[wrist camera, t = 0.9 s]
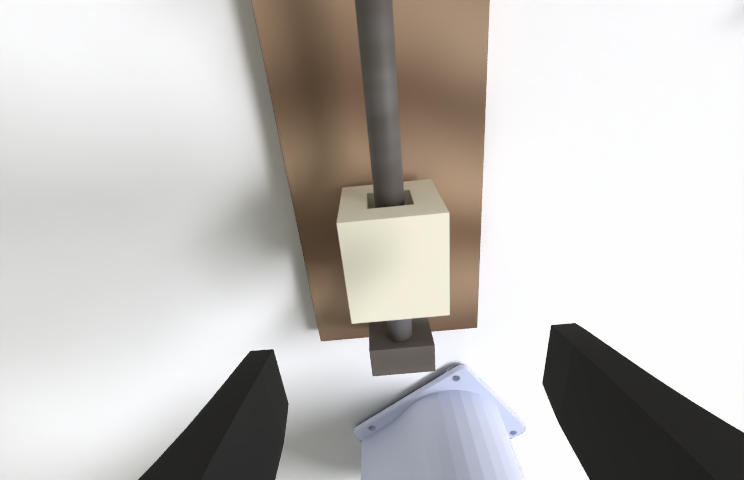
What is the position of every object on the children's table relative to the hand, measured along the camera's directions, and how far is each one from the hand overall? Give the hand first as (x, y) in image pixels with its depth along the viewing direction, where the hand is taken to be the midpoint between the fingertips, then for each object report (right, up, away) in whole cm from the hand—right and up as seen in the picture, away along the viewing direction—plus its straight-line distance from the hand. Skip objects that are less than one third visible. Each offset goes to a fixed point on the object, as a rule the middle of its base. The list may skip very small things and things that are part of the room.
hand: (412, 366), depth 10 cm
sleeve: (0, +4, +8) cm, 9 cm away
